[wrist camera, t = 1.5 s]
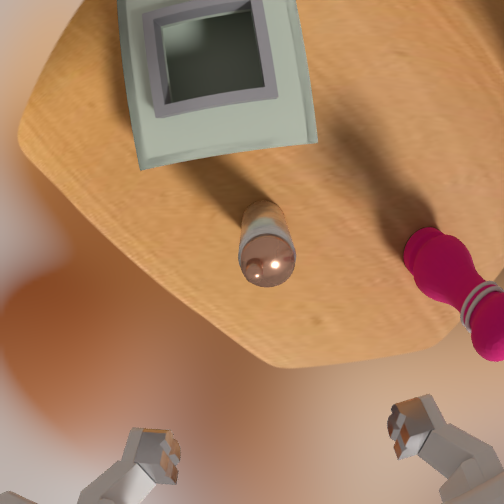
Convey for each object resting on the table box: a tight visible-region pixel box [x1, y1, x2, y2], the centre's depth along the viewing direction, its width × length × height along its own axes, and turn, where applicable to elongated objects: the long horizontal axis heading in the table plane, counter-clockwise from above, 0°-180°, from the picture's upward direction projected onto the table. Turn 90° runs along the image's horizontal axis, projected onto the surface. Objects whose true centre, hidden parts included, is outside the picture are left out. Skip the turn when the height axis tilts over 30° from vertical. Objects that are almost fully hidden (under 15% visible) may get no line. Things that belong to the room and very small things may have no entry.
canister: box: [238, 201, 296, 287], centre depth 27 cm, size 4×4×12 cm
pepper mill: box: [404, 227, 504, 362], centre depth 24 cm, size 7×7×20 cm
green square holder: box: [117, 0, 318, 171], centre depth 21 cm, size 14×16×9 cm
